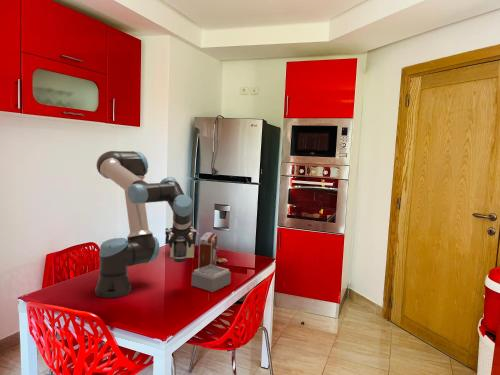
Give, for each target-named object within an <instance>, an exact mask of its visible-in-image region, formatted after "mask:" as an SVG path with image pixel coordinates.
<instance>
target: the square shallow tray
mask: <svg viewBox="0 0 500 375" xmlns="http://www.w3.org/2000/svg"><path fill="white" fill-rule="evenodd" d="M202 272H206V273H209V274H213V275H214V274H216V273H219V272H221V271H219V270H216V269H212V268H209V269H206V270H204V271H202ZM231 275H232V271H229V272H228V273H226V274H224V275H221V276H219V277H217V278H214V279H212V278H209V277H206V276H202V275H199V274H195V273H194V272H191V285H190V286H191V287H195V288H198V289H201V290H204V291H208V292H211V293H214V292H216V291H218V290H221V289H222V288H225V287H227V286H228V285H230V284H231V280H232V279H231V277H232V276H231ZM224 286H225V287H224Z"/></svg>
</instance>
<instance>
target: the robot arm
mask: <svg viewBox="0 0 500 375" xmlns="http://www.w3.org/2000/svg"><path fill="white" fill-rule="evenodd" d="M96 169H97V173H99V175H101V176H102V177H104V178H105V179H109V180H110V181H113V182H114V183H115V184H116V185H117V186H119V187H120V188H121V189H123V190H124V196H125V197H124V198H125V204H126V212H127V220H128V227H129V228H128V229H129V234H128V235H127V237H126V238H125V237H116V238H115V237H114V238H111V239H110V238H109V239H106V240H105V241H103V242H101V244H100V247H99V277H98V279H97V284H96V286H95V289H94V290H95V293H94V294H95V295H96V296H97V297H100V298H104V299H105V298H106V299H107V298H108V299H109V298H110V299H111V298H112V299H113V298H120V297H124V296H127V295H128V294H130V292H132V284H131V281H130V278H129V276H128V268H129V267H133V266H137V265H142V264H148V263H152V262H154V261H156V260H157V258H158V257H159V255H160V254H159V253H160V242H159V240H158V238H157V237H155V236H154V235H153V232H152V231H150V230H149V222H148V215H147V209H146V204H147V203H148V204H149V203H150V204H151V203H158V202H161V203H162V202H167V204H168V205H169V207H170V209H171V210H172V227H171V228H172V229H170V228H169V227H166V228H165V232H164V233H165V241H164V242H165V245H168V247H169V249H170V248H172V252H173V248H174V241H175V240H176V238H178V236H184V238H185V239H186V241H187V252H188V248H190V247H191V244H194V245H196V236H197V235H198V234H197V232H198V231H197V230H198V229H197V228H195V227H194V229H191V228H190V227H192V226H191V224H192V213H193V209H194V207H193V206H194V204H193V203H194V202H193V199H192V198H191V197H190V196H188V195H186V194H185V193H184V191H183V189H182V187H181V185H180V182H178V181H177V179H176V178H175V177H172V176H168V177H166V178H163V179H162V180H160V182H158V183H157V182H154V183H149V182H146V181H145V180H144V179H145V175H147V174H148V171H149V161H148V159H147V157H146V155H145V154H144V153H142V152H141V151H133V150H132V151H131V150H129V151H126V150H125V151H124V150H123V151H121V150H119V151H118V150H109V151H107V152H104V153H102V154H101V155H100V156H99V157H98V158H97V160H96ZM171 232H172V233H173V235H172V237H171V238H170V233H171ZM189 233H192V235H193V240H191V238H190V236H189Z"/></svg>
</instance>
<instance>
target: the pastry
mask: <svg viewBox="0 0 500 375" xmlns="http://www.w3.org/2000/svg"><path fill="white" fill-rule="evenodd" d="M227 262H228V260H227V258H222V257H218V256H217V255H216V266H218V263H223V264H224V263H227Z"/></svg>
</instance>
